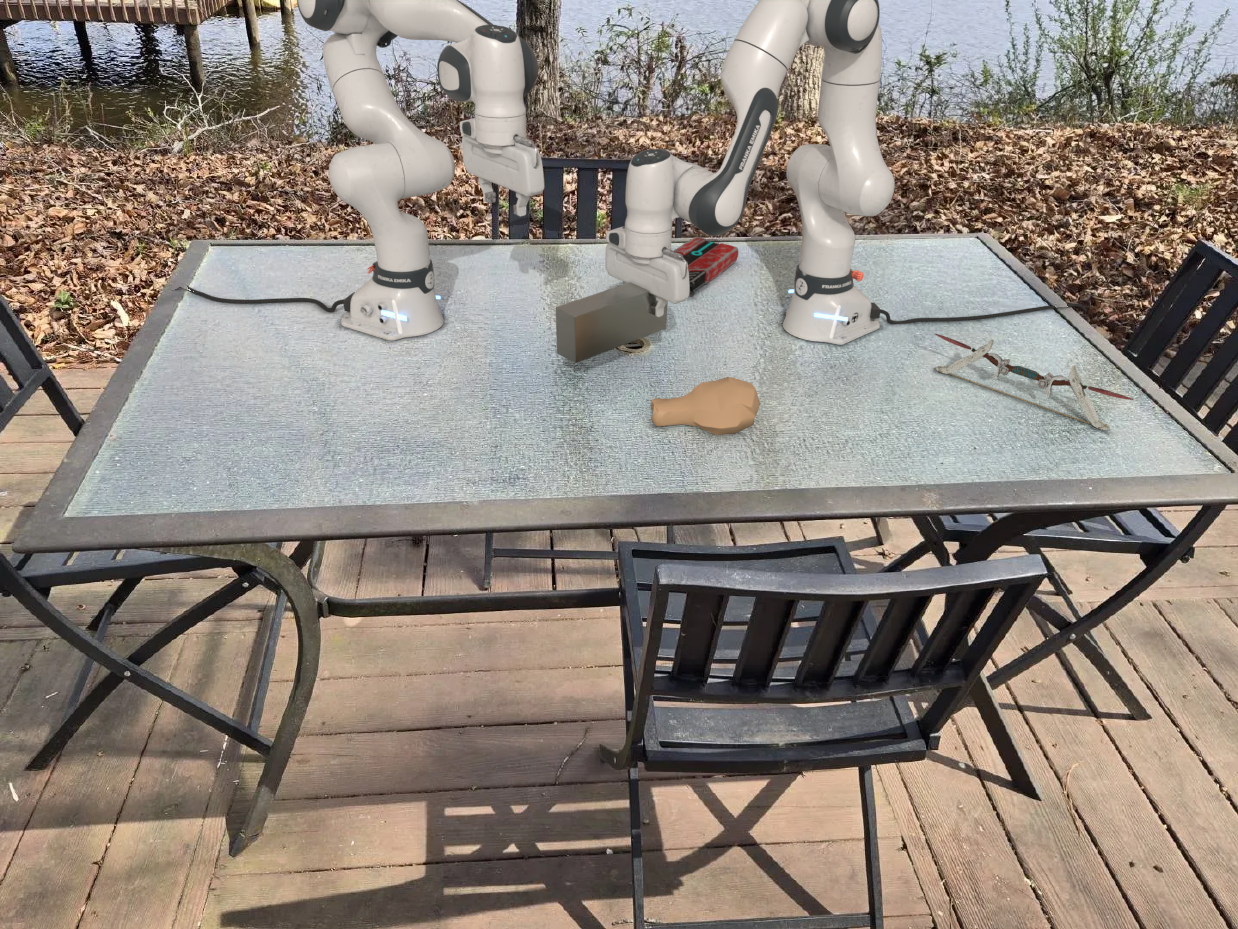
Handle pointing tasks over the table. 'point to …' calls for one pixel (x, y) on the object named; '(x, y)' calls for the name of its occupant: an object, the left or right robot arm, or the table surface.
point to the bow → (1043, 381)
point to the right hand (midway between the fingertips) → (645, 309)
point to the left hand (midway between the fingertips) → (504, 208)
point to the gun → (706, 260)
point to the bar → (606, 321)
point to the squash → (711, 407)
